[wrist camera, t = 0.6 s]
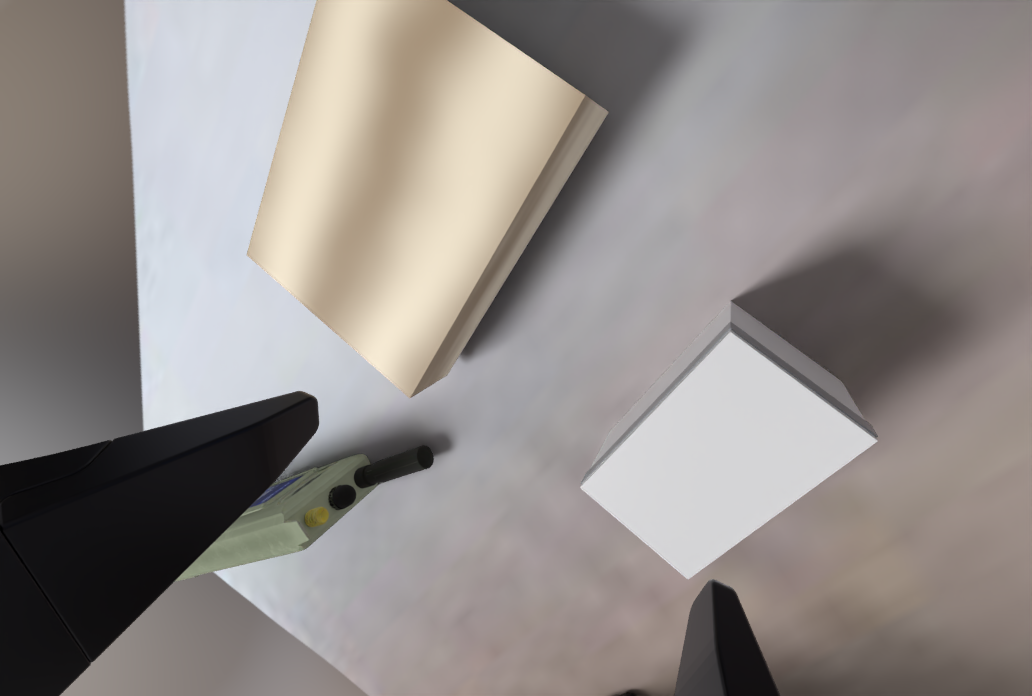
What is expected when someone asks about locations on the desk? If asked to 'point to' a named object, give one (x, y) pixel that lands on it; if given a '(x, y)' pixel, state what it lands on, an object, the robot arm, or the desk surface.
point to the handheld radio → (303, 509)
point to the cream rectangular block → (412, 177)
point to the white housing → (724, 442)
